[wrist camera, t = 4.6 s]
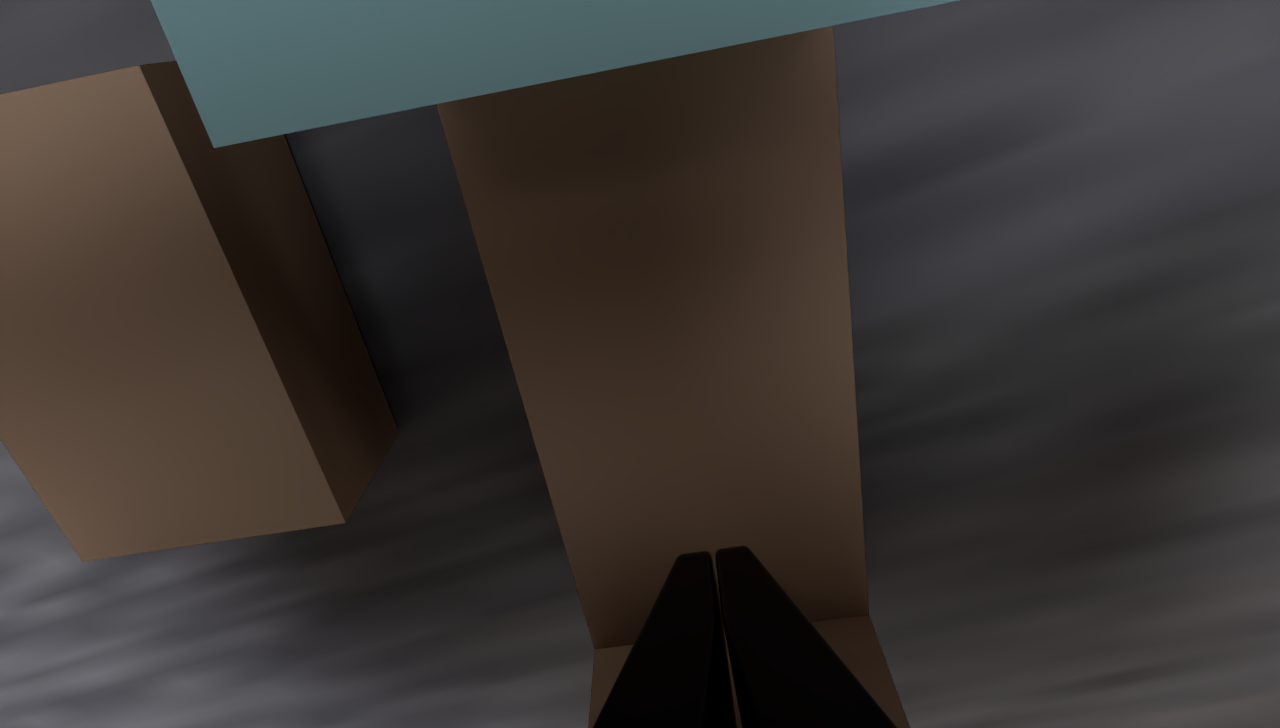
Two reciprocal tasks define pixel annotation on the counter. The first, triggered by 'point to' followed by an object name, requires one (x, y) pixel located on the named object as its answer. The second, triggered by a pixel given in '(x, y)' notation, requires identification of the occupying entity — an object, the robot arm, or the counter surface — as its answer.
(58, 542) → the counter surface
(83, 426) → the broken strip
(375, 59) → the cube
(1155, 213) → the counter surface
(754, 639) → the robot arm
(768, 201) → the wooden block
